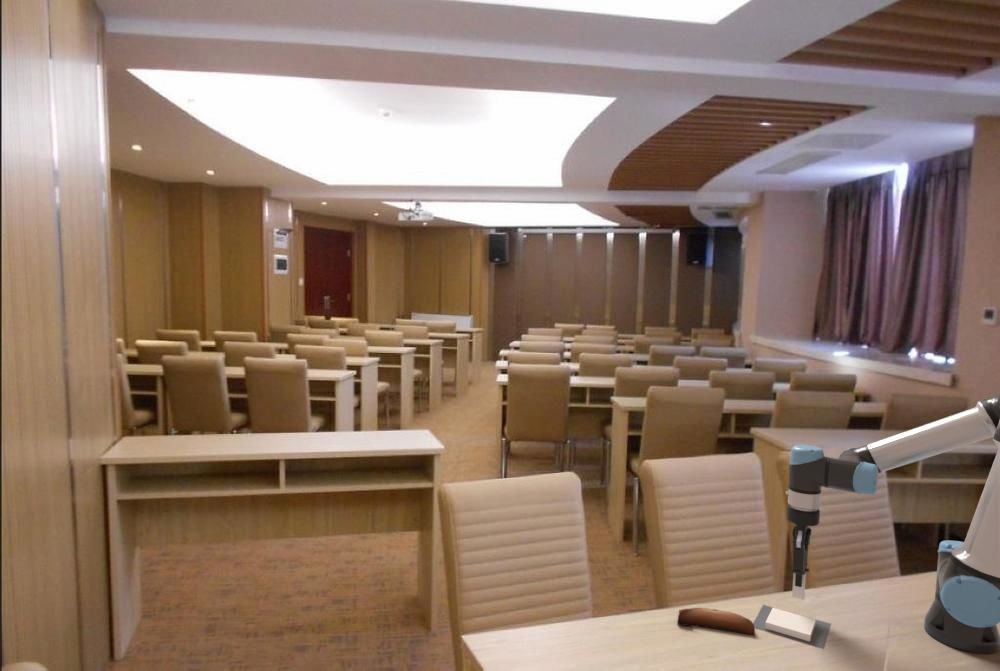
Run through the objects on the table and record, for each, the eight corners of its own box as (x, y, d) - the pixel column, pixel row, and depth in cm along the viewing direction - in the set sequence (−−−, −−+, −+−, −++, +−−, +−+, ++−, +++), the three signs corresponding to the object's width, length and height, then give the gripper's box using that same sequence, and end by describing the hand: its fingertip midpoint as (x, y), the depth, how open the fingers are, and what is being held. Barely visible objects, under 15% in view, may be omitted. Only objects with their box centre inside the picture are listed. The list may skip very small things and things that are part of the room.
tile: (815, 619, 158) (810, 635, 150) (815, 626, 158) (809, 642, 150) (772, 607, 163) (765, 622, 156) (772, 614, 163) (764, 629, 156)
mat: (830, 626, 160) (830, 623, 160) (823, 651, 148) (823, 648, 148) (763, 606, 168) (763, 604, 168) (751, 629, 157) (751, 626, 157)
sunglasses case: (750, 620, 161) (753, 604, 157) (752, 646, 155) (756, 631, 152) (676, 609, 166) (677, 593, 162) (676, 634, 160) (677, 619, 156)
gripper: (791, 497, 169) (786, 583, 171) (783, 510, 158) (778, 602, 160) (822, 502, 165) (817, 591, 167) (816, 516, 154) (811, 611, 156)
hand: (798, 596), depth 163 cm, fingers closed
